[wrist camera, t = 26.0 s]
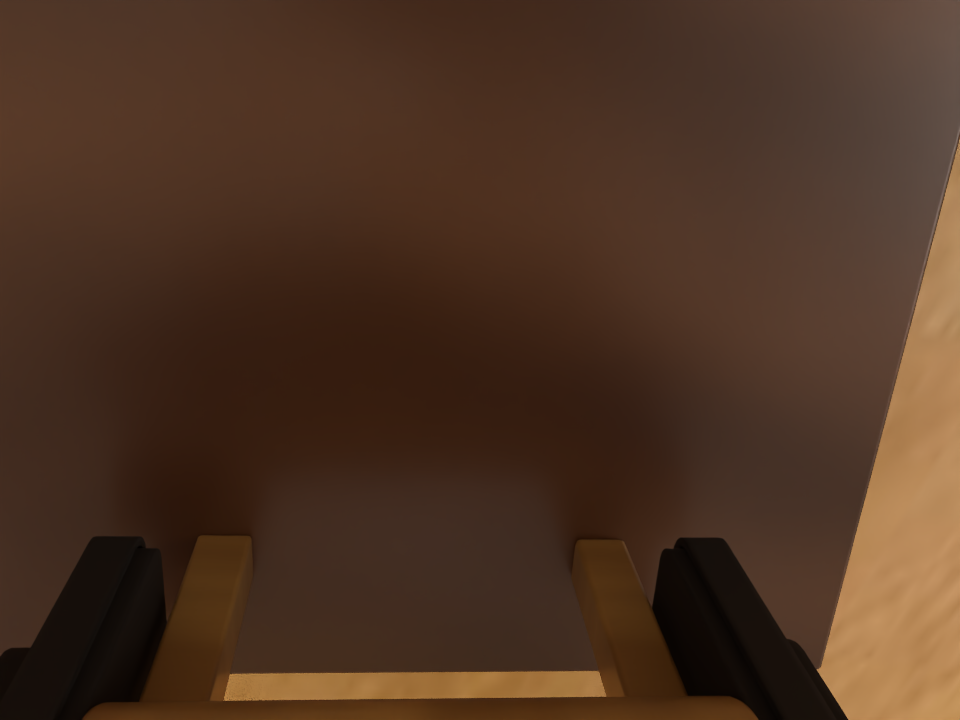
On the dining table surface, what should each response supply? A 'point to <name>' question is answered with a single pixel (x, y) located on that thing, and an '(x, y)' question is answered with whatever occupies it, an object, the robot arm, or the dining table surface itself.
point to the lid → (454, 323)
